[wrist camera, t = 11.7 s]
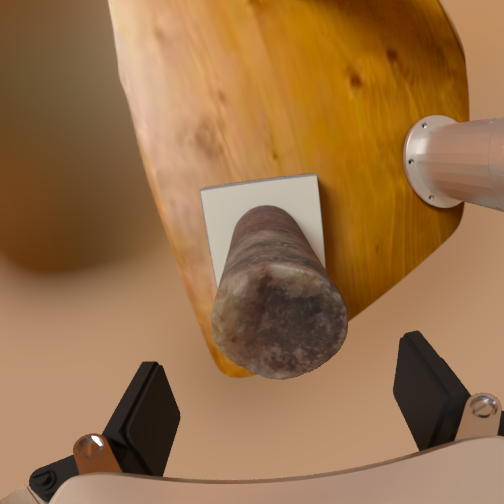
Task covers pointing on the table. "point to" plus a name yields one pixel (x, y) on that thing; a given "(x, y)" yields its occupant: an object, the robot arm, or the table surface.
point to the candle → (276, 299)
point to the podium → (259, 194)
